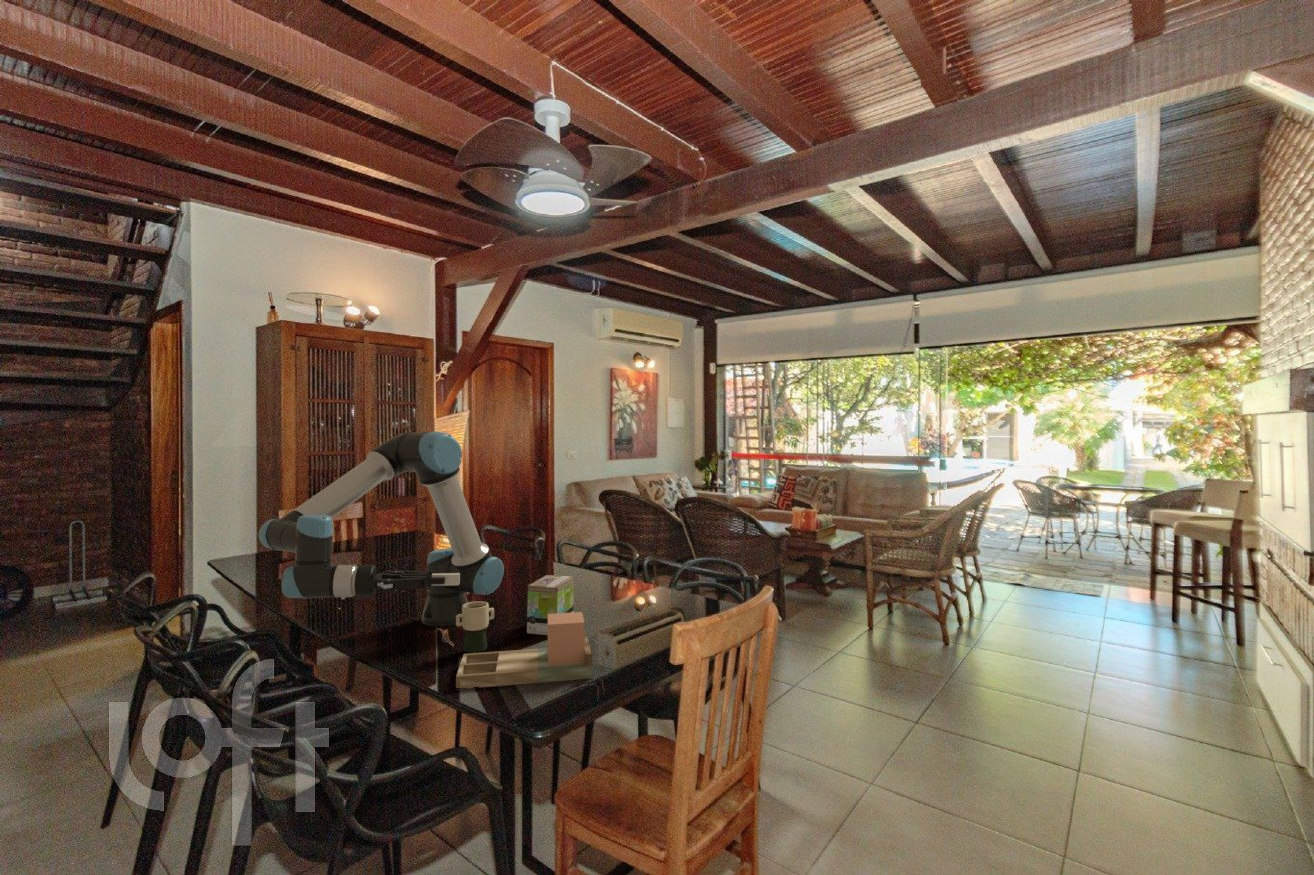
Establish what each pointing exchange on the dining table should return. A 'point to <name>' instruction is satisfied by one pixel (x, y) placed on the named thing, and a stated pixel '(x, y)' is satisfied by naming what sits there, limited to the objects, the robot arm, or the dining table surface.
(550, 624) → the terracotta block
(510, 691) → the dining table surface
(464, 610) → the character mug
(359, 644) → the dining table surface
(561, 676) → the trap deck
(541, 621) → the tea box
